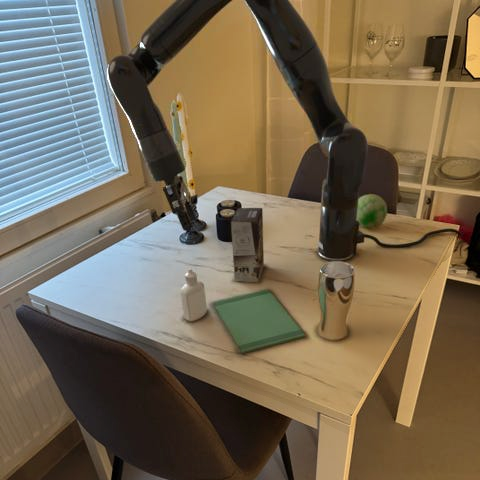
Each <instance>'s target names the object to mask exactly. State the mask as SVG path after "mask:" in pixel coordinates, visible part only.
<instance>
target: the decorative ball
mask: <svg viewBox="0 0 480 480" xmlns="http://www.w3.org/2000/svg"><path fill="white" fill-rule="evenodd" d="M387 215H388V205H387V202H386V201H385V200H384V198H382V197H381V196H380V195H377V194H373V193H368V194H364V195H362V196H359V199H358V209H357V219H356V220H357V221H359V228H362V229H365V230H372V229H373V230H374V229H375V228H378V227H379V226H381V225H383V223H384V221H385V220H386V218H387Z"/></svg>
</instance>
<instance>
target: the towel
mask: <svg viewBox="0 0 480 480" xmlns="http://www.w3.org/2000/svg"><path fill="white" fill-rule="evenodd" d="M212 305H213V306H214V308H215V309H216V312H217V313H218V315H219V317H220V318H221V320H222V322H223V323H224V326H225V327H226V329H227V330H228V332H229V334H230V335H231V337H232V339H233V340H234V342H235V344H236V347H238V350H239V351H240V353H241V354H245V353H250V352H255V351H257V350H261V349H265V348H268V347H271V346H276V345H279V344H283V343H286V342H287V343H288V342H290V341H294V340H298V339H301V338H305V337H306V334H305V333H304V331H303V330H302V329H301V328H300V327H299V325H298V324H297V323H296V322H295V321H294V319H293V318H292V317H291V315H290V314H289V313H288V312H287V310H286V309H285V308H284V306H282V304H281V303H280V302H279V301H278V299H277V298H276V297H275V295H274V294H273V293H272V292H271V290H270V289H269V288H267V289H261V290H257V291H253V292H249V293H244V294H240V295H236V296H232V297H227V298H223V299H218V300H214V301H212Z"/></svg>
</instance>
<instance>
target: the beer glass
mask: <svg viewBox="0 0 480 480" xmlns="http://www.w3.org/2000/svg"><path fill="white" fill-rule="evenodd" d="M355 272H356V269H355V267H354V266H353V265H352V264H350V263H349V262H346V261H327V262H325V263H323V264H322V265H320V268H319V276H318V277H319V278H318V283H317V286H318V287H317V296H318V304H319V305H318V306H319V311H320V319H319V323H318V327H317V333H318V334H319V336H320V337H322V338H323V339H326V340H330V341H337V340H341V339H344V338H345V337H346V336H347V335H348V324H347V321H348V315H349V311H350V308H351V305H352V302H353V299H354V292H355V285H356V283H355V281H356V280H355V276H356V274H355Z"/></svg>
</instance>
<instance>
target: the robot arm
mask: <svg viewBox="0 0 480 480" xmlns="http://www.w3.org/2000/svg"><path fill="white" fill-rule="evenodd" d="M232 1H233V0H174V1H173V2H172V3H170V4H169V6H167V7H166V8H165V10H164V11H161V14H160V15H158V16H157V17H156V18H155V19H154V20H153V21H152V22H151V23H150V25H148V26H147V28H146V29H145V30H144V31H143V33H142V34H141V35H140V41H139V42H138V43H137V44H136V45H135V47H134V48H132V50H131V51H130V52H129V53H128V54H127V55H126V54H120V55H116V56H114V57H113V58H112V59H111V60H110V61H109V63H108V65H107V70H106V75H107V81H108V83H109V86H110V88H111V90H112V92H113V94H114V96H115V98H116V100H117V102H118V103H119V106H120V107H121V109H122V110H123V112H124V114H125V115H126V117H127V119H128V121H129V123H130V126H131V129H132V132H133V133H134V136H135V138H136V141H137V143H138V146H139V150H140V152H141V155H142V157H143V159H144V162H145V163H146V167H147V169H148V171H149V173H150V175H151V178H152V180H153V181H154V182H155V183H159V182H162V181H163V182H164V185H165V186H163V187H162V191H163V192H164V196H165V197H166V200H167V202H168V205H169V207H170V210H171V213H172V214H173V215H175V216H177V219H178V221H179V224H180V226H181V228H182V230H183V231H188V230H190V229H192V228H193V223H192V222H193V221H195V220H197V216H196V213H195V211H194V208H193V206H192V197H191V195H190V193H189V190H188V188H187V186H186V184H185V181H184V177H183V176H182V175H180V174H182V173H183V172H184V171H185V170H186V166H185V164H184V162H183V159H182V157H181V155H180V152H179V150H178V147H177V145H176V142H175V140H174V138H173V135H172V134H171V131H170V130H169V128H168V125H167V122H166V120H165V118H164V116H163V113H162V111H161V108H160V107H159V106H158V104H157V103H156V102H155V100H154V99H153V97H152V94H151V92H150V89H149V86H150V85H151V84H152V83H153V81H154V80H155V79H156V78H157V77H158V75H159V74H160V73H161V72H162V71H163V68H165V66H166V65H168V64H169V63H170V62H171V61H172V60H173V59H174V58H176V57H177V55H179V53H180V52H182V51H183V50H184V49H185V47H187V46H188V44H189V43H190V42H191V41H193V39H194V38H195V37H196V36H198V34H199V33H200V32H201V31H202V30H203V29H204V28H205V27H206V26H207V25H208V23H209V22H210V21H211V20H212V19H214V17H215V16H217V15H218V14H219V12H221V11H222V10H223V9H224V8H225V7H226V6H227V5H229V4H230V3H231V2H232ZM243 1H244V2H245V4H246V6H247V7H248V10H249V11H250V12H251V14H252V17H254V19H255V21H256V23H257V25H258V28H259V31H260V33H261V36H262V37H263V40H264V42H265V44H266V46H267V48H268V49H267V50H269V53H270V55H271V57H272V59H273V61H274V63H275V65H276V67H277V69H278V71H279V73H280V74H281V76H282V78H283V80H284V82H285V83H286V86H287V87H288V89H289V90H290V92H291V93H292V96H293V97H294V98H295V100H296V101H297V103H298V105H299V106H300V107H301V109H302V110H303V112H304V113H305V115H306V116H307V118H308V121H309V122H310V124H311V127H312V130H313V132H314V134H315V137H316V139H317V142H318V145H319V147H320V150H321V153H322V154H323V156H325V158H326V159H327V172H326V178H324V179H323V181H322V184H321V195H320V197H321V199H320V218H319V234H318V235H319V236H318V242H317V246H318V249H317V255H318V256H319V257H320V258H321V259H323V260H325V261H327V262H331V261H342V262H346V261H348V260H350V259H351V258H353V257H354V256H357V250H358V249H357V248H358V245H359V244H364V243H365V238H366V239H370V240H372V241H374V242H375V243H376V245H378V246H379V247H382V248H392V249H394V248H395V249H396V248H397V249H399V248H407V247H408V248H409V247H412V246H413V247H414V246H417V245H420V244H422V243H423V242H424V241H425V240H426V239H427V238H428V237H430V236H433V235H438V234H442V233H443V234H444V233H454V234H455V235H458V236H463V233H462V232H461V231H460V230H458V229H456V228H442V229H437V230H433V231H429V232H427V233H425V234H424V235H423V236H422V237H421V238H420V239H419V240H416V241H412V242H407V243H401V244H400V243H399V244H390V243H384V242H381V241H380V240H379V239H378V238H377V237H376V236H373V235H371V234H368V233H364V232H363V231H361V230H360V226H359V221H357V220H356V219H357V209H358V199H359V198H360V189H361V186H362V185H363V182H364V178H365V172H366V165H367V159H368V139H367V136H366V134H365V133H364V132H363V130H361V129H360V128H358V127H357V126H354V125H353V123H351V122H350V121H349V119H348V118H347V116H346V115H345V113H344V111H343V109H342V108H341V106H340V105H339V103H338V101H337V99H336V96H335V93H334V90H333V85H332V81H331V80H332V79H331V75H330V70H329V68H328V65H327V62H326V59H325V57H324V55H323V52H322V50H321V48H320V46H319V44H318V42H317V40H316V37H315V36H314V34H313V32H312V31H311V29H310V28H309V26H308V24H307V23H306V22H305V20H304V19H303V17H302V16H301V14H300V13H299V12H298V11H297V9H296V8H295V7H294V5H293V4H292V3H291V1H290V0H243Z"/></svg>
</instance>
